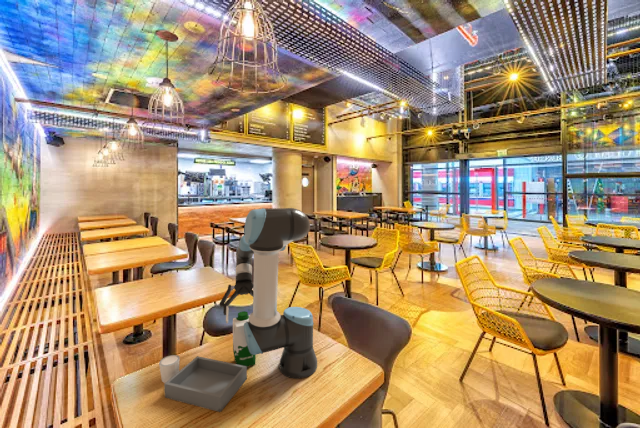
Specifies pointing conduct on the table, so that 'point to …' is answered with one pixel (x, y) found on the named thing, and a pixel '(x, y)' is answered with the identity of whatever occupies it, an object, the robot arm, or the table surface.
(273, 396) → the table surface
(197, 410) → the table surface
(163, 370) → the white round container
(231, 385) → the bin
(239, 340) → the soya milk
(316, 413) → the table surface
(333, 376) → the table surface
